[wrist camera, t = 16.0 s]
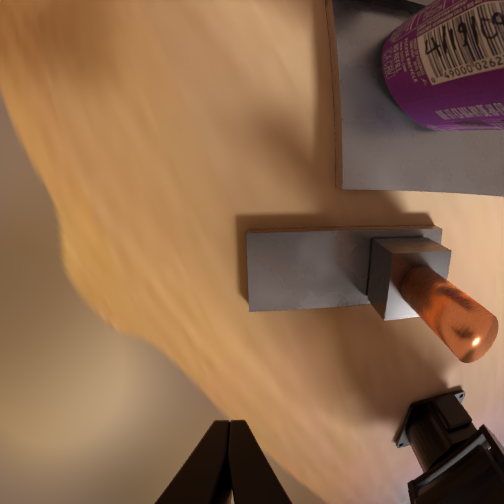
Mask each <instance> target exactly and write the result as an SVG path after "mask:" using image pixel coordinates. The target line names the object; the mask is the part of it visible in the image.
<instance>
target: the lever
mask: <svg viewBox="0 0 504 504" xmlns="http://www.w3.org/2000/svg"><path fill="white" fill-rule="evenodd" d="M450 257H451V250H449V249H447V248H446V247H444V246H442V245H440V244H438V243H436V242H435V241H433V240H431V239H429V238H427V237H418V238H382V239H372V253H371V265H370V277H369V287H368V296H367V299H368V301H369V302H370V303H371V305H372V306H373V307H374V308H375V310H376V311H377V312H378V314H379V315H380V316H381V318H382V319H383V320H384V321H388V320H397V319H405V318H412V317H421V318H422V320H423V321H424V322H425V323H426V324H427V325H428V326H429V327H430V328H431V329H432V330H433V331H434V332H435V333H436V334H437V335H438V337H439V338H440V339H441V340H442V341H443V342H444V343H445V344H446V345H447V346H448V347H449V349H450V350H451V351H452V352H453V353H454V354H455V355H456V356H457V357H458V359H459V360H460V361H462V362H464V363H470V362H474V361H476V360H477V359H479V358H480V357H482V356H483V355H484V354H485V353H486V352H487V351H488V350H489V348H490V347H491V346H492V344H493V342H494V340H495V338H496V336H497V332H498V320H497V318H496V317H495V316H494V315H493V314H492V313H490V312H489V311H488V310H487V309H485V308H484V307H483V306H481V305H480V304H479V303H477V302H476V301H475V300H474V299H472V298H471V297H470V296H468V295H467V294H466V293H464V292H463V291H462V290H460V289H459V288H457V287H456V286H455V285H453V284H452V283H451V282H449V281H448V280H447V276H448V270H449V264H450Z"/></svg>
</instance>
